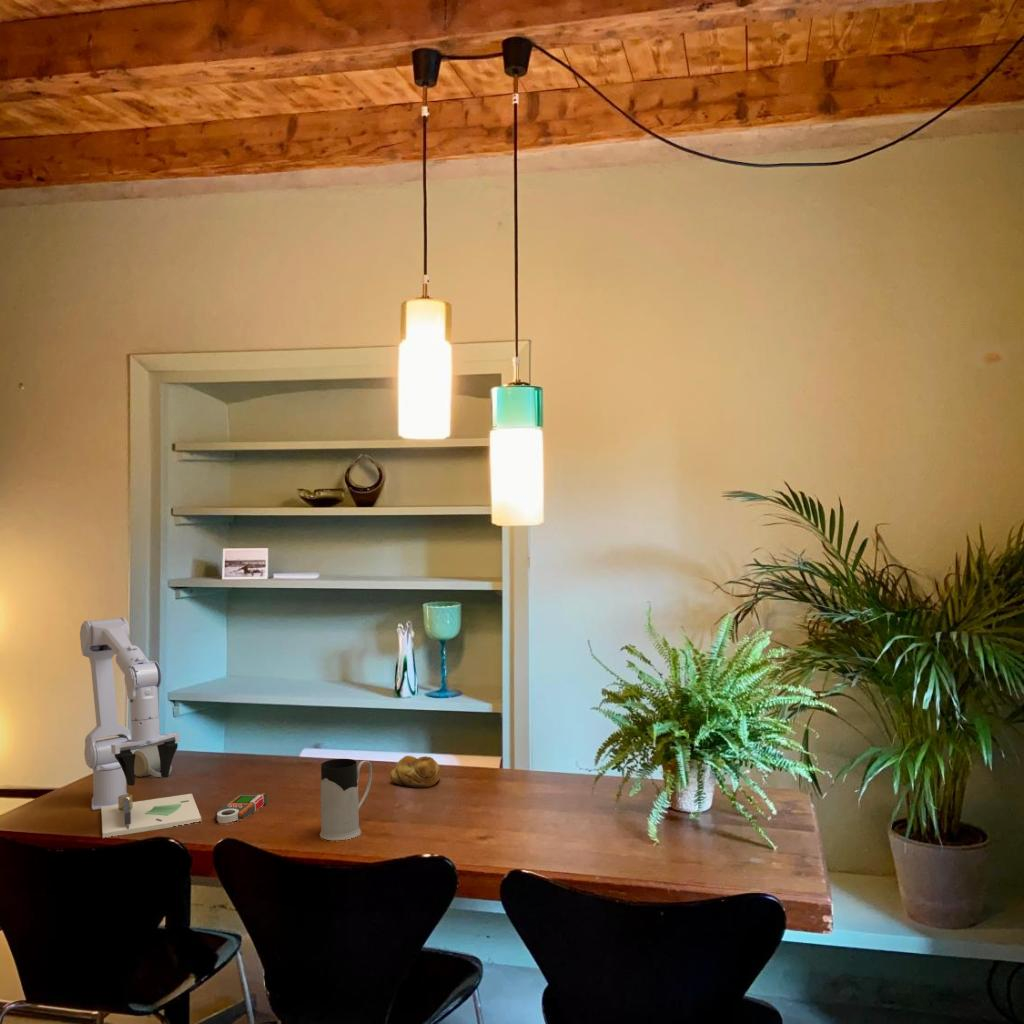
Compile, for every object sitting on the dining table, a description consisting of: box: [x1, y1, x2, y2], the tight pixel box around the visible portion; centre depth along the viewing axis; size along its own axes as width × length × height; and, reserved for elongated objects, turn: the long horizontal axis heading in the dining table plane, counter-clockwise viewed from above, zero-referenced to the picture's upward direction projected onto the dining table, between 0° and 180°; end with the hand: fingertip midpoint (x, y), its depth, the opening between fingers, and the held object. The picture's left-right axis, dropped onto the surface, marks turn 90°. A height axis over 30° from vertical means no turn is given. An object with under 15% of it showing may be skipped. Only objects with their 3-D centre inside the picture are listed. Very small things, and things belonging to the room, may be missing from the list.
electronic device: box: [214, 792, 268, 823], centre depth 205 cm, size 7×3×15 cm
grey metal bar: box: [118, 793, 134, 825], centre depth 200 cm, size 14×3×3 cm, turn 25°
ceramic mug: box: [134, 745, 173, 778], centre depth 238 cm, size 11×8×8 cm
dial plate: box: [100, 793, 202, 839], centre depth 204 cm, size 20×20×1 cm
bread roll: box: [389, 755, 441, 789], centre depth 225 cm, size 13×10×8 cm
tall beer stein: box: [319, 758, 373, 841], centre depth 192 cm, size 9×14×15 cm, turn 146°
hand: (148, 780), depth 196 cm, fingers open, 7 cm apart
